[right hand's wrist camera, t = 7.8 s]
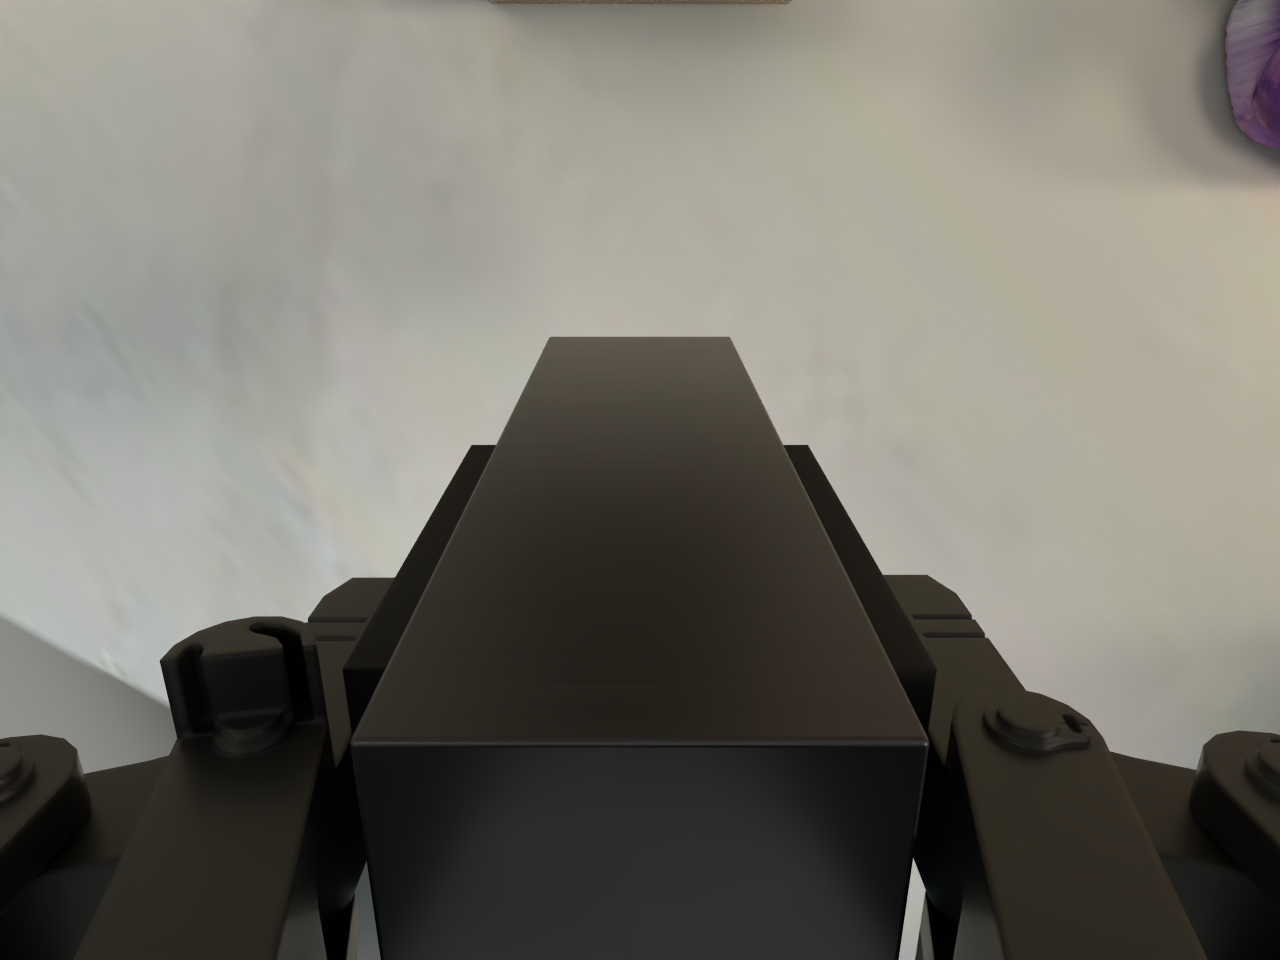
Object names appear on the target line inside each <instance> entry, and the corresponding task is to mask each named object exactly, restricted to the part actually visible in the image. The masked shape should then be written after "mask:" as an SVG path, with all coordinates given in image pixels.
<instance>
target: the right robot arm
mask: <svg viewBox="0 0 1280 960" xmlns="http://www.w3.org/2000/svg"><path fill="white" fill-rule="evenodd" d="M783 446H784V448H785V450H786V452H787V454H788V456H789V458H790V460H791V462H792V464H793V466H794V468H795V470H796V472H797V474H798V476H799V478H800V480H801V482H802V484H803V486H804V488H805V490H806V492H807V494H808V496H809V498H810V500H811V502H812V505H813V507H814V509H815V511H816V513H817V515H818V517H819V519H820V521H821V523H822V525H823V527H824V529H825V531H826V533H827V535H828V537H829V539H830V541H831V543H832V545H833V547H834V549H835V551H836V553H837V555H838V557H839V559H840V561H841V563H842V565H843V567H844V569H845V571H846V573H847V575H848V577H849V579H850V581H851V583H852V586H853V588H854V590H855V592H856V594H857V596H858V598H859V600H860V602H861V604H862V606H863V608H864V610H865V612H866V614H867V616H868V618H869V620H870V622H871V624H872V626H873V628H874V630H875V632H876V634H877V636H878V638H879V640H880V642H881V644H882V646H883V648H884V650H885V652H886V654H887V656H888V658H889V660H890V662H891V664H892V667H893V669H894V671H895V673H896V675H897V677H898V679H899V681H900V683H901V685H902V687H903V689H904V691H905V693H906V695H907V697H908V699H909V701H910V703H911V705H912V707H913V709H914V711H915V713H916V715H917V717H918V719H919V721H920V723H921V725H922V727H923V729H924V731H925V733H926V735H927V737H928V740H929V750H928V757H927V763H926V770H925V777H924V784H923V791H922V798H921V805H920V812H919V819H918V826H917V833H916V840H915V847H914V854H913V858H914V861H915V863H916V866H917V868H918V871H919V873H920V876H921V879H922V881H923V884H924V886H925V889H926V892H925V899H924V905H923V912H922V918H921V925H920V931H919V938H918V945H917V951H916V958H915V960H1280V735H1277V734H1272V733H1261V732H1250V731H1234V732H1228V733H1223V734H1217V735H1215V736H1214V737H1213V738H1212V739H1210V740H1209V741H1208V742H1207V743H1206V744H1204V746H1203V749H1202V753H1201V756H1200V760H1199V764H1198V767H1197V770H1193V769H1188V768H1183V767H1178V766H1173V765H1168V764H1163V763H1158V762H1153V761H1148V760H1143V759H1138V758H1133V757H1129V756H1125V755H1122V754H1118V753H1114V752H1110V751H1109V749H1108V747H1107V745H1106V743H1105V741H1104V739H1103V737H1102V735H1101V734H1100V733H1099V732H1098V730H1097V729H1096V728H1095V727H1094V725H1093V724H1092V723H1091V722H1090V720H1089V719H1087V718H1086V717H1084V716H1083V715H1081V714H1080V713H1078V712H1077V711H1075V710H1074V709H1073V708H1071V707H1070V706H1068V705H1066V704H1064V703H1062V702H1059V701H1057V700H1054V699H1052V698H1049V697H1047V696H1044V695H1042V694H1039V693H1034V692H1029V691H1026V690H1025V689H1024V687H1023V686H1022V684H1021V683H1020V682H1019V680H1018V679H1017V677H1016V676H1015V675H1014V673H1013V672H1012V670H1011V669H1010V668H1009V666H1008V665H1007V664H1006V662H1005V661H1004V659H1003V658H1002V657H1001V655H1000V654H999V652H998V651H997V650H996V648H995V647H994V645H993V644H992V643H991V641H990V640H989V639H988V638H985V633H984V632H983V630H982V629H981V627H980V626H979V625H978V623H977V622H976V620H972V615H971V614H970V612H969V611H968V609H967V608H966V607H965V605H964V604H963V602H962V601H961V600H960V598H959V597H958V595H957V594H956V593H954V592H953V591H951V590H950V589H948V588H947V587H945V586H944V585H942V584H940V583H939V582H937V581H936V580H934V579H933V578H931V577H930V576H928V575H882V573H881V571H880V569H879V568H878V566H877V564H876V562H875V561H874V559H873V557H872V556H871V554H870V552H869V550H868V549H867V547H866V545H865V543H864V542H863V540H862V538H861V536H860V535H859V533H858V531H857V530H856V528H855V526H854V524H853V523H852V521H851V519H850V517H849V516H848V514H847V512H846V510H845V509H844V507H843V505H842V504H841V502H840V500H839V498H838V497H837V495H836V493H835V491H834V490H833V488H832V486H831V485H830V483H829V481H828V479H827V478H826V476H825V474H824V472H823V471H822V469H821V467H820V465H819V464H818V462H817V460H816V459H815V457H814V455H813V453H812V452H811V450H810V448H809V446H808V445H783ZM495 447H496V445H471V447H470V449H469V451H468V452H467V454H466V456H465V458H464V459H463V461H462V463H461V464H460V466H459V468H458V470H457V471H456V473H455V475H454V477H453V478H452V480H451V482H450V483H449V485H448V487H447V489H446V490H445V492H444V494H443V496H442V497H441V499H440V501H439V503H438V504H437V506H436V508H435V509H434V511H433V513H432V515H431V516H430V518H429V520H428V522H427V523H426V525H425V527H424V529H423V530H422V532H421V534H420V535H419V537H418V539H417V541H416V542H415V544H414V546H413V548H412V549H411V551H410V553H409V554H408V556H407V558H406V560H405V561H404V563H403V565H402V567H401V568H400V570H399V572H398V574H397V575H396V577H395V578H352V579H350V580H348V581H347V582H345V583H344V584H342V585H341V586H339V587H338V588H336V589H334V590H333V591H331V592H330V593H328V594H327V595H325V596H324V597H323V598H322V600H321V601H320V602H319V604H318V605H317V607H316V608H315V609H314V611H313V612H312V614H311V615H310V616H309V618H308V623H303V622H302V621H298V620H294V619H290V618H285V617H250V618H244V619H238V620H233V621H227V622H224V623H221V624H218V625H215V626H212V627H209V628H207V629H204V630H201V631H198V632H196V633H194V634H193V635H191V636H189V637H188V638H186V639H184V640H182V641H181V642H179V643H177V644H176V645H174V646H173V647H172V648H171V649H170V650H169V651H168V652H167V654H166V655H165V656H164V657H163V658H162V659H161V660H160V664H161V668H162V673H163V677H164V682H165V686H166V690H167V695H168V699H169V703H170V708H171V712H172V717H173V721H174V725H175V730H176V734H177V740H176V742H175V744H174V746H173V749H172V751H171V753H170V755H169V756H165V757H161V758H158V759H154V760H150V761H146V762H141V763H136V764H131V765H126V766H121V767H116V768H111V769H106V770H101V771H96V772H91V773H86V774H84V773H83V770H82V766H81V763H80V759H79V756H78V752H77V749H76V748H75V747H73V746H72V745H71V744H70V743H69V742H68V741H66V740H65V739H63V738H58V737H52V736H46V735H31V736H20V737H9V738H4V739H0V960H357V951H358V943H359V934H360V926H359V919H358V912H357V905H356V899H355V889H356V887H357V884H358V881H359V879H360V876H361V874H362V871H363V869H364V866H365V863H366V861H367V859H366V852H365V845H364V838H363V831H362V824H361V817H360V810H359V803H358V796H357V789H356V782H355V775H354V768H353V761H352V754H351V747H350V741H351V738H352V736H353V734H354V732H355V730H356V728H357V726H358V724H359V722H360V720H361V718H362V716H363V714H364V712H365V710H366V708H367V706H368V704H369V702H370V700H371V698H372V696H373V694H374V692H375V689H376V687H377V685H378V683H379V681H380V679H381V677H382V675H383V673H384V671H385V669H386V667H387V665H388V663H389V661H390V659H391V657H392V655H393V653H394V651H395V649H396V647H397V645H398V643H399V641H400V639H401V637H402V635H403V633H404V631H405V629H406V627H407V625H408V623H409V621H410V619H411V617H412V615H413V613H414V611H415V609H416V607H417V605H418V603H419V600H420V598H421V596H422V594H423V592H424V590H425V588H426V586H427V584H428V582H429V580H430V578H431V576H432V574H433V572H434V570H435V568H436V566H437V564H438V562H439V560H440V558H441V556H442V554H443V552H444V550H445V548H446V546H447V544H448V542H449V540H450V538H451V536H452V534H453V532H454V530H455V528H456V526H457V524H458V522H459V520H460V518H461V516H462V514H463V511H464V509H465V507H466V505H467V503H468V501H469V499H470V497H471V495H472V493H473V491H474V489H475V487H476V485H477V483H478V481H479V479H480V477H481V475H482V473H483V471H484V469H485V467H486V465H487V463H488V461H489V459H490V457H491V455H492V453H493V451H494V449H495Z"/></svg>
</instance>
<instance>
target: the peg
mask: <svg viewBox="0 0 1280 960" xmlns="http://www.w3.org/2000/svg"><path fill="white" fill-rule="evenodd" d="M350 747H351V754H352V761H353V768H354V775H355V782H356V789H357V796H358V803H359V810H360V817H361V824H362V831H363V838H364V845H365V852H366V859H367V866H368V873H369V880H370V887H371V894H372V901H373V908H374V915H375V922H376V929H377V936H378V943H379V949H380V956H381V960H898V959H899V952H900V945H901V938H902V931H903V924H904V917H905V910H906V903H907V896H908V889H909V882H910V875H911V868H912V861H913V854H914V847H915V840H916V833H917V826H918V819H919V812H920V805H921V798H922V791H923V784H924V777H925V770H926V763H927V757H928V750H929V740H928V737H927V735H926V733H925V731H924V729H923V727H922V725H921V723H920V721H919V719H918V717H917V715H916V713H915V711H914V709H913V707H912V705H911V703H910V701H909V699H908V697H907V695H906V693H905V691H904V689H903V687H902V685H901V683H900V681H899V679H898V677H897V675H896V673H895V671H894V669H893V667H892V664H891V662H890V660H889V658H888V656H887V654H886V652H885V650H884V648H883V646H882V644H881V642H880V640H879V638H878V636H877V634H876V632H875V630H874V628H873V626H872V624H871V622H870V620H869V618H868V616H867V614H866V612H865V610H864V608H863V606H862V604H861V602H860V600H859V598H858V596H857V594H856V592H855V590H854V588H853V586H852V583H851V581H850V579H849V577H848V575H847V573H846V571H845V569H844V567H843V565H842V563H841V561H840V559H839V557H838V555H837V553H836V551H835V549H834V547H833V545H832V543H831V541H830V539H829V537H828V535H827V533H826V531H825V529H824V527H823V525H822V523H821V521H820V519H819V517H818V515H817V513H816V511H815V509H814V507H813V505H812V502H811V500H810V498H809V496H808V494H807V492H806V490H805V488H804V486H803V484H802V482H801V480H800V478H799V476H798V474H797V472H796V470H795V468H794V466H793V464H792V462H791V460H790V458H789V456H788V454H787V452H786V450H785V448H784V446H783V444H782V442H781V440H780V438H779V436H778V434H777V432H776V430H775V428H774V426H773V424H772V422H771V419H770V417H769V415H768V413H767V411H766V409H765V407H764V405H763V403H762V401H761V399H760V397H759V395H758V393H757V391H756V389H755V387H754V385H753V383H752V381H751V379H750V377H749V375H748V373H747V371H746V369H745V367H744V365H743V363H742V361H741V359H740V357H739V355H738V353H737V351H736V349H735V347H734V345H733V343H732V341H731V338H730V337H550V338H549V340H548V342H547V344H546V346H545V348H544V350H543V352H542V354H541V356H540V358H539V360H538V362H537V364H536V366H535V368H534V370H533V372H532V374H531V376H530V378H529V380H528V382H527V384H526V386H525V388H524V390H523V392H522V394H521V396H520V398H519V400H518V402H517V404H516V406H515V408H514V410H513V412H512V414H511V416H510V418H509V420H508V423H507V425H506V427H505V429H504V431H503V433H502V435H501V437H500V439H499V441H498V443H497V445H496V447H495V449H494V451H493V453H492V455H491V457H490V459H489V461H488V463H487V465H486V467H485V469H484V471H483V473H482V475H481V477H480V479H479V481H478V483H477V485H476V487H475V489H474V491H473V493H472V495H471V497H470V499H469V501H468V503H467V505H466V507H465V509H464V511H463V514H462V516H461V518H460V520H459V522H458V524H457V526H456V528H455V530H454V532H453V534H452V536H451V538H450V540H449V542H448V544H447V546H446V548H445V550H444V552H443V554H442V556H441V558H440V560H439V562H438V564H437V566H436V568H435V570H434V572H433V574H432V576H431V578H430V580H429V582H428V584H427V586H426V588H425V590H424V592H423V594H422V596H421V598H420V600H419V603H418V605H417V607H416V609H415V611H414V613H413V615H412V617H411V619H410V621H409V623H408V625H407V627H406V629H405V631H404V633H403V635H402V637H401V639H400V641H399V643H398V645H397V647H396V649H395V651H394V653H393V655H392V657H391V659H390V661H389V663H388V665H387V667H386V669H385V671H384V673H383V675H382V677H381V679H380V681H379V683H378V685H377V687H376V689H375V692H374V694H373V696H372V698H371V700H370V702H369V704H368V706H367V708H366V710H365V712H364V714H363V716H362V718H361V720H360V722H359V724H358V726H357V728H356V730H355V732H354V734H353V736H352V738H351V741H350Z"/></svg>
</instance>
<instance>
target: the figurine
mask: <svg viewBox="0 0 1280 960" xmlns="http://www.w3.org/2000/svg"><path fill="white" fill-rule="evenodd" d="M1225 29H1226V31H1227V35H1226V39H1225V53H1226V54H1227V59H1226V63H1225V64H1226V67H1227V84H1228V91H1229V94H1230V102H1231V105H1232V106H1233V111H1232V113H1233V116H1234V120H1235V123H1236V124H1237V126H1238V127H1239V128H1240V129H1241V130H1242V131H1243V132H1244V133H1245V135H1246V136H1247V137H1248V138H1250V139H1251V140H1253V141H1254V142H1257V143H1260V144H1263V145H1268V146H1274V147H1279V148H1280V0H1238V1H1237V2H1236V3H1235V5H1234V7H1233V9H1232V11H1231V14H1230V17H1229V20H1228V23H1227V25H1226V28H1225Z"/></svg>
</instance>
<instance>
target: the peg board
mask: <svg viewBox="0 0 1280 960" xmlns="http://www.w3.org/2000/svg"><path fill="white" fill-rule="evenodd" d="M488 1H489V2H490V3H790V2H791V1H792V0H488Z"/></svg>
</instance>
